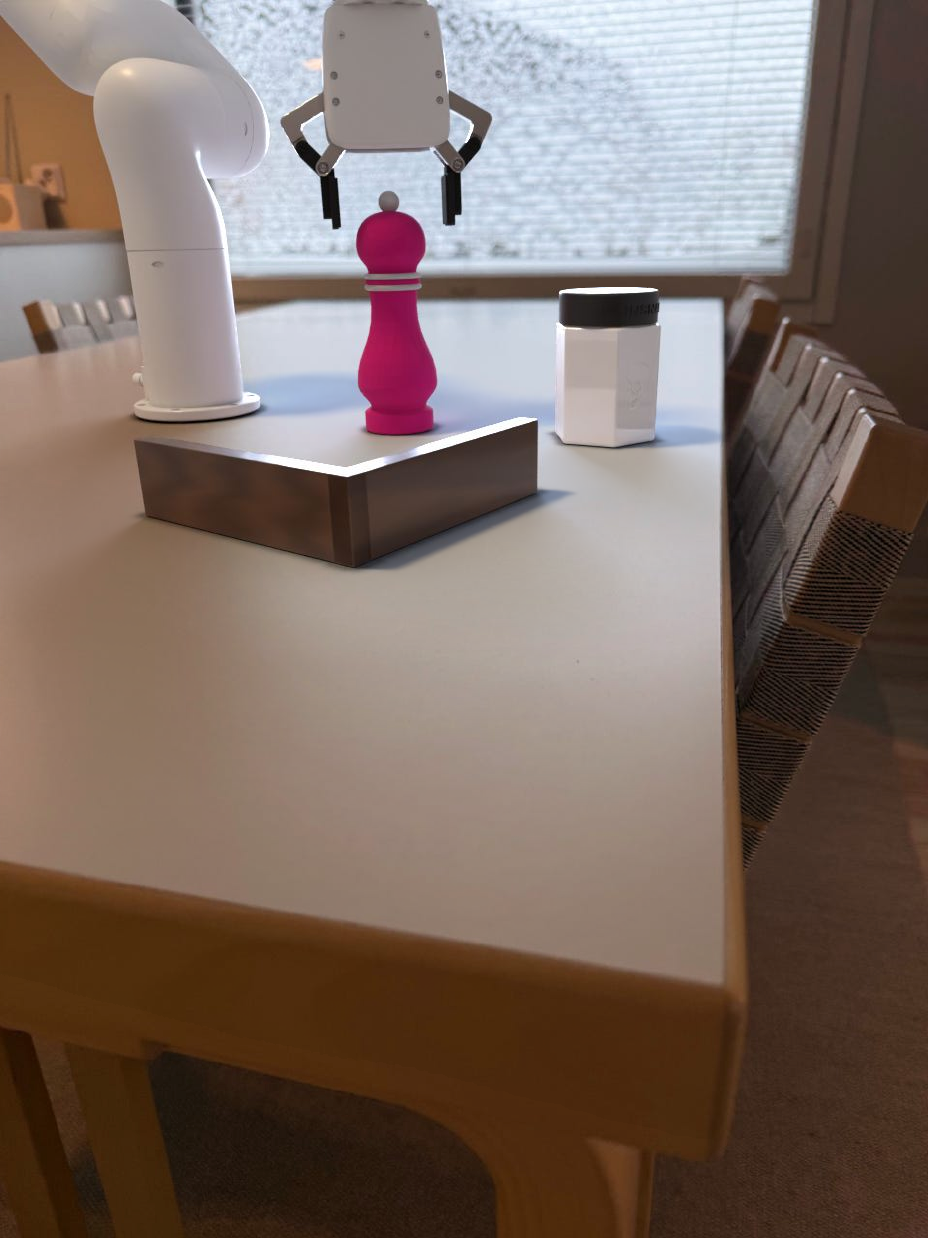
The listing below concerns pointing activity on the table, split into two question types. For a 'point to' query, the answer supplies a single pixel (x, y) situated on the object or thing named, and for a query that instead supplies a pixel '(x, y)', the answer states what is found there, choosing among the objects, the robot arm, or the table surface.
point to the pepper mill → (394, 324)
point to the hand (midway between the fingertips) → (393, 227)
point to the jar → (607, 366)
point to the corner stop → (339, 491)
